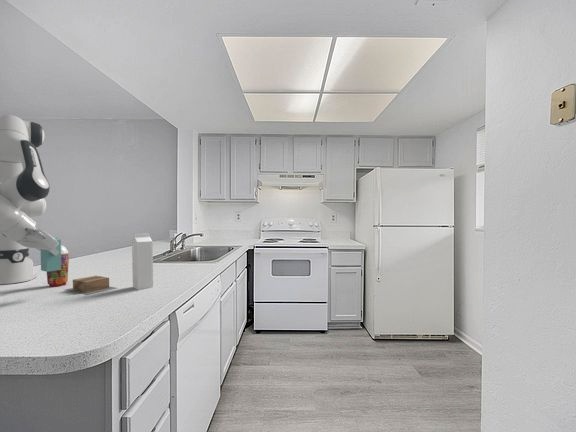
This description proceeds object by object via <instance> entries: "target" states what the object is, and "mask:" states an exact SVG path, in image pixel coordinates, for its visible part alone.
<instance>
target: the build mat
mask: <svg viewBox="0 0 576 432" xmlns="http://www.w3.org/2000/svg"><path fill="white" fill-rule="evenodd" d="M116 289H118V287H116V286H115V287H114V286H111V285H109V288H106V289H102V290H97V291H92V292H88V293H84V292H80V291H75V290H73V287H70V288H67V289H64V291H67V292H71V293H76V294H77V293H78V294H81V295H86V296H88V295H93V294H94V295H95V294H99V293H102V292H106V291H107V292H108V291H112V290H116Z"/></svg>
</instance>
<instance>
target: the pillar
mask: <svg viewBox="0 0 576 432" xmlns="http://www.w3.org/2000/svg"><path fill="white" fill-rule="evenodd" d="M55 239H56V238H55ZM56 240H57V241H58V242H59V244H58V245H57V247H56V250H58V251H59V254H58V255H57V256H54V255H52V254H51V252H49V251H48V250H43V249H41V251H40V271H42V272H46V273H47V272H49V271H56V270H61V245H62V244H61V243H62V240H61V239H60V238H58V239H56Z"/></svg>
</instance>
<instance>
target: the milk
mask: <svg viewBox="0 0 576 432" xmlns="http://www.w3.org/2000/svg"><path fill="white" fill-rule="evenodd" d="M133 235H134V237H133V239H132V240H131V252H132V253H131V260H132V263H131V265H132V267H131V268H132V288H134V289H136V290H143V289H150V288H154V266H153V265H154V264H153V263H154V260H153V259H154V257H153V255H154V254H153V250H154V249H153V244H154V243H153V242H154V241H153V240H152V238H151V234H150V232H140V233H139V232H138V233H137V232H136V233H134V234H133Z"/></svg>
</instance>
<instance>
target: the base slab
mask: <svg viewBox="0 0 576 432" xmlns="http://www.w3.org/2000/svg"><path fill="white" fill-rule="evenodd" d="M109 286H110V277H106V276H100V275H92V276H87V277H81V278H76V279H75V278H74V279H72V288H73V290H75V291H80V292H84V293H88V292H92V291H97V290H102V289H106V288H109Z"/></svg>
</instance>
